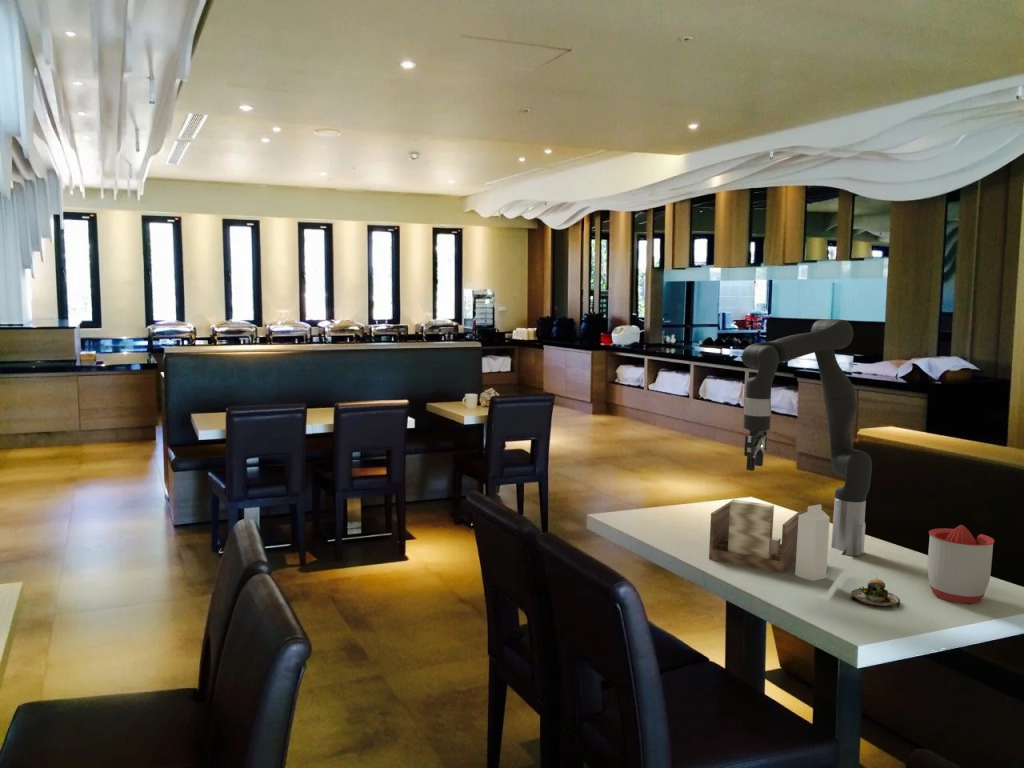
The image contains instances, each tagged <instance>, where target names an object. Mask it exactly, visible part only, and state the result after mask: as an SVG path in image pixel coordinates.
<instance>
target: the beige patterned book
mask: <svg viewBox="0 0 1024 768" xmlns="http://www.w3.org/2000/svg"><path fill="white" fill-rule="evenodd" d="M729 502H730V519H729V538H728V552H733V553H739V554H744V555H749V556H755V557H760V558H765V559H771V550H772V537H773V531H774V529H773V528H774V514H775V513H774V512H775V505H773V504H767V503H759V502H755V501H754V502H753V501H747V500H746V501H745V500H740V499H731V500H730V501H729Z"/></svg>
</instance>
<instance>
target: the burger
mask: <svg viewBox="0 0 1024 768" xmlns="http://www.w3.org/2000/svg"><path fill="white" fill-rule="evenodd" d="M866 586H867V587H864V586H863V585H861V587H857V588H855V589H854V590H851V597H850V599H851V601H852V600H853V599H856V600H858V601H860V602H862V603H865V604H869V605H872V606H880V607H882V606H883V607H887V606H892V605H893V606H894V605H897V607H898V608H900V605H901V600H900V598H899V597H898V596H897V595H895V594H893V593H891V592H889V590H888V589H885V588H886V583H885V582H884V581H883V580H882V579H879V578H873V579H871V580H869V581H868V582H867V585H866Z"/></svg>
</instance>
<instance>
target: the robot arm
mask: <svg viewBox="0 0 1024 768" xmlns="http://www.w3.org/2000/svg"><path fill="white" fill-rule="evenodd" d="M853 338H854V329H853V326H852V324H851V323H850V322H849V321H847V320H845V319H839V318H833V319H829V318H828V319H818V320H816V321H815V322H814V323H813V324H812V326H811V329H810V332H804V333H797V334H791V335H788V336H784V337H780V338H777V339H775V340H771V341H763V342H757V343H753V344H750V345H748V346H746V347H745V348H744V349H743V351H742V353H741V360H742V361H741V362H742V364H744V366H746V367H747V368H750V369H753V370H757V374H756V375H755V376H752V377H750V378H748V379H747V380H746V386H745V400H744V407H743V409H744V410H743V428H744V430H748V431H749V434H748V435H747V434H746V435H744V437H745V438H744V452H743V456H745V457H746V468H745V469H746V471H750V472H751V471H753V472H754V471H755V469H756V468H755V467H762V466H763V465H764V454H765V452H766V451H767V449H768V448H767V443H768V442H767V440H768V431H770V430H771V421H772V420H771V419H772V400H771V398H772V384H773V381H774V378H775V375H776V373H777V370H778V367H779V366H778V365H779V364H780V363H785V362H786V363H787V362H788V361H792V360H794V359H798V358H800V357H803V356H807V355H811V354H814V356H815V358H816V363H817V367H818V372H819V376H820V381H821V387H822V394H823V403H824V408H825V413H826V418H827V425H828V432H829V444H830V449H829V450H830V462H831V467H832V469H833V471H834V472H835V473H837V474H838V475H839V476H843V477H845V480H844V481H845V482H844V484H843V486H839V487H837V488H836V489H835V491H834V500H833V502H834V504H833V516H832V517H833V519H832V532H831V533H832V535H831V549H835V550H839V551H841V552H842V551H843V552H842V553H841V556H842V555H843V556H849V557H851V556H852V557H855V556H856V557H861V556H862V555H863V553H864V552H865V551H864V550H865V540H866V539H865V537H866V536H865V535H866V521H865V519H866V517H865V516H866V504H867V495H868V494H869V491H870V489H871V481H872V480H871V479H872V471H873V462H872V458H871V456H870V454H868V453H867V452H865V451H863V450H859V449H855V448H854V447H853V443H852V437H851V429H852V426H853V422H854V420H855V417H856V415H857V408H858V406H857V405H858V404H857V399H856V393H855V387H854V385H853V383H852V381H851V380H850V379H849V377H848V376H847V375H846V373H845V372H844V371H843V369H842V367H840V365H839V363H838V360H837V358H836V353H835V350H842V349H845V348H847V347H848V346H849V345H850V344H851V343H852V341H853Z"/></svg>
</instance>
